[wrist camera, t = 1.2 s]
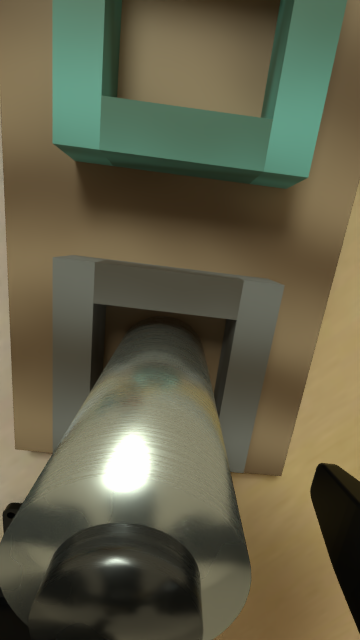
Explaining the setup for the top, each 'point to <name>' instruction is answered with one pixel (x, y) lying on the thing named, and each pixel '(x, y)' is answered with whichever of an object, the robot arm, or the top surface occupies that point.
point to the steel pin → (134, 507)
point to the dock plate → (176, 196)
